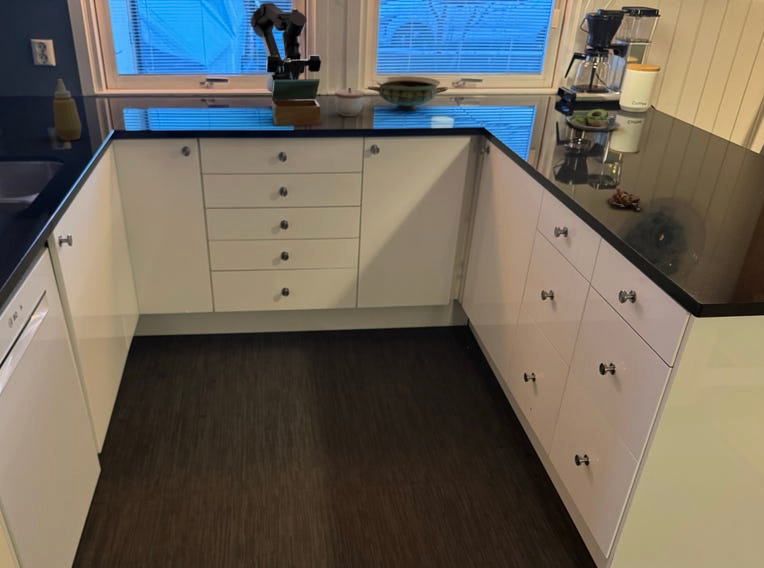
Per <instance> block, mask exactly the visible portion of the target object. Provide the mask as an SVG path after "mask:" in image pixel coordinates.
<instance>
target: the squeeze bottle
mask: <svg viewBox="0 0 764 568" xmlns="http://www.w3.org/2000/svg"><path fill="white" fill-rule="evenodd" d="M52 104H53V105H52V107H53V118H54V129H55V131H56V133H57V135H58V137H59V139H60V140H61V141H67V142H70V141H71V142H72V141H76V140H79V139H80V138H81V133H82V123H81V118H80V115H79V112H78V108H77V104H76V100H75V99H74V98H72V95H71V91H70V90H67V89H66V86H65V84H64V81H63V79H62V78H58V79H57V90H56V91H54V99H53V100H52Z"/></svg>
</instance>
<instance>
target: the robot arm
mask: <svg viewBox="0 0 764 568" xmlns="http://www.w3.org/2000/svg"><path fill="white" fill-rule="evenodd" d="M306 23H307V17H306V16H305V15H304V13H302V12H299V9H297V8H295V9H292V10H291V12H290V11H289V12H288V11H287V12H286V11H284V10H282V9H281V8H279V7H278V6H277V5H276V3H273V2H263V3H261V4H260V5H259V8H257V9H256V10H255V11H254V12H253V13H252V16H251V19H250V25H251V27H252V29H253V31H254V34H255V35H256V36H258V37H259V38H260V40H261V42H262V44H263V47H264V51H265V54H266V56H267V57H266V63H265V66H266V67H265V68H266V72H267V73H268V74H269V73H270V74H269V78H268V80H267V84H266V86H267V87H266V88H267V91H268V92H270V93H273V85H274V80H291V79H300V76H301V74H304V73H305V67H307V70H308V71H309V72H310V73H318V72H320V70H321V65H322V57H321V56H320V55H319V54H309V55H308V58H307V59H305V58H304V59H303V58H302V53H301V44H300V36H302V34H303V32H304V29H305V27H306ZM274 28H275V29H276V31H277V32H282V36H281V37H282V41H281V42H282V44H283V55H284V57H283V59H282V56H281V53H280V50H279V47H278V44H277V40H276V38H275V35H274V32H273V31H274ZM270 106H271V107H272V104H271V105H270Z"/></svg>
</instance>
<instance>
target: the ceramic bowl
mask: <svg viewBox="0 0 764 568" xmlns="http://www.w3.org/2000/svg"><path fill="white" fill-rule="evenodd" d="M375 82H376V84H377V85H379V86H372V85H371V86H367V89H368V90H370V91H375V92H378V94H379V96H380V98H382V99H383V100H385V101H386V102H388V103H390V104H393V105H397V106H396V107H395V108H396V109H397V110H401V111H416V110H417V109H418V107H417V106H420V105H423V104H426V103H428V102H431V101H432V100H433V99H435V97H436V96H437V95H438V94H440V93H444V92H446V91H448V89H449V88H448V87H447V86H441V87H438V86H439V85H441V81H440V80H438V79H434V78H431V77H430V78H429V77H423V76H405V75H404V76H403V75H402V76H399V75H398V76H387V77H386V76H385V77H380V78H378V79H377V80H376V81H375Z"/></svg>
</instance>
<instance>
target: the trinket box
mask: <svg viewBox="0 0 764 568" xmlns="http://www.w3.org/2000/svg"><path fill="white" fill-rule="evenodd" d="M334 97H335V98H334V99H335V107H336V110H337V111H338V112H339V113H340V115H341V116H344V117H356V116H358V114H359V113H360V112H361V111H362V109H363V107H364V101H365V91H362V90H359V89H358V90H357V89H352V87H348V89H340V90H336V91H335V92H334Z"/></svg>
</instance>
